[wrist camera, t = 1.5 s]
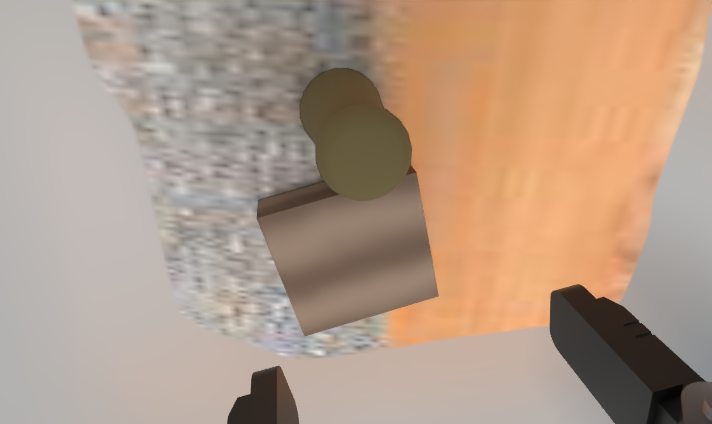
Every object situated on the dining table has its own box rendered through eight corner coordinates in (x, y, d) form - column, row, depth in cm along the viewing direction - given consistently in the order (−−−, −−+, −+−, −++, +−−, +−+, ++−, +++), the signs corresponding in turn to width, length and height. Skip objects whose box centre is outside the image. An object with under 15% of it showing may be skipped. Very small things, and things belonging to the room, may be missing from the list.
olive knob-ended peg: (294, 145, 32) (302, 212, 22) (305, 61, 29) (319, 96, 20) (372, 155, 33) (411, 222, 24) (389, 75, 31) (441, 114, 21)
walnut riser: (258, 200, 33) (256, 218, 31) (405, 158, 34) (416, 172, 31) (302, 312, 39) (304, 336, 37) (427, 275, 40) (438, 296, 37)
